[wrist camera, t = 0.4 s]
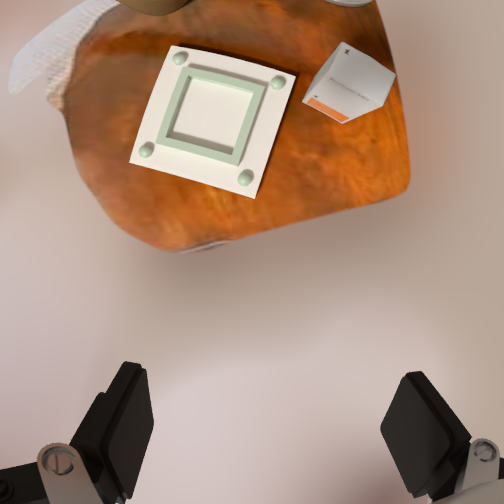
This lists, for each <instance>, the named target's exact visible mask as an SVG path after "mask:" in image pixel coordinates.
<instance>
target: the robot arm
mask: <svg viewBox="0 0 504 504" xmlns="http://www.w3.org/2000/svg"><path fill="white" fill-rule="evenodd" d="M326 1H328V2H330V3H334V4H337V5H341V6H347V7H358V6H364V5H367V4H369V3H370V2H372V1H373V0H326ZM153 426H154V419H153V413H152V407H151V401H150V394H149V387H148V379H147V372H146V369H143V368H142V367H141V364H138V363H133V362H127V361H125V362H124V363H123V364H122V366H121V367H120V369H119V371H118V372H117V374H116V376H115V378H114V379H113V381H112V383H111V385H110V386H109V388H108V390H107V391H106V393H104V392H100V393H99V394H98V395H97V396H96V398H95V400H94V402H93V403H92V405H91V407H90V408H89V410H88V412H87V414H86V415H85V417H84V419H83V421H82V422H81V424H80V426H79V427H78V429H77V431H76V433H75V435H74V436H73V438H72V440H71V442H70V444H69V445H67V444H63V443H52V444H49V445H46V446H45V447H43V448H42V449H41V450H40V452H39V453H38V456H37V462H34V463H29V464H25V465H21V466H16V467H11V468H7V469H1V470H0V504H115V503H119V504H125V501H126V498H127V499H131V498H132V495H133V492H134V488H135V485H136V482H137V478H138V475H139V472H140V469H141V465H142V462H143V459H144V456H145V452H146V449H147V446H148V443H149V440H150V436H151V433H152V430H153ZM380 430H381V433H382V436H383V438H384V440H385V442H386V444H387V446H388V448H389V451H390V453H391V455H392V457H393V459H394V461H395V464H396V466H397V468H398V470H399V472H400V475H401V477H402V479H403V481H404V484H405V486H406V488H407V490H408V492H410V493H412V495H413V497H414V498H417V497H420V496H423V495H426V494H427V493H428V495H429V498H428V502H427V504H504V458H501V457H500V453H499V449H498V447H497V446H496V444H495V443H493V442H492V441H490V440H487V439H483V438H481V439H477V440H475V441H474V442H473V443H472V444H471V443H470V442H469V441H470V439H471V438H472V436H471V435H470V434H469V432H468V431H467V429H466V428H465V427H464V425H463V424H462V423H461V421H460V420H459V419H458V417H457V416H456V415H455V414H454V412H453V411H452V409H451V408H450V407H449V405H448V404H447V403H446V401H445V400H444V399H443V398H442V397H441V395H440V394H439V392H438V391H437V390H436V389H435V387H434V386H433V385H432V383H431V382H430V381H429V380H428V378H427V377H426V376H425V375H424V373H423V372H422V371H417V372H409V373H407V374H406V375H405V376H404V377H403V378H402V379H401V381H400V384H399V386H398V389H397V391H396V393H395V396H394V398H393V400H392V402H391V405H390V407H389V409H388V411H387V413H386V416H385V417H384V419H383V421H382V423H381V428H380Z"/></svg>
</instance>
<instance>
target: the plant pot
mask: <svg viewBox="0 0 504 504" xmlns="http://www.w3.org/2000/svg"><path fill="white" fill-rule="evenodd" d="M116 1H118V2H120V3H122V4H124V5H126V6H128V7H130V8H132V9H135V10H137V11H140V12H142V13H145V14H148V15H152V16H162V15H167V14H170V13H172V12H175V11H176V10H178V9H180V8H181V7H182V6H183V5H184V4H185V3H186V2H187V1H188V0H116Z"/></svg>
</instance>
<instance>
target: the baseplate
mask: <svg viewBox="0 0 504 504" xmlns="http://www.w3.org/2000/svg"><path fill="white" fill-rule="evenodd" d="M295 77H296V76H293V75H290V74H287V73H284V72H281V71H278V70H275V69H271V68H268V67H265V66H261V65H258V64H254V63H251V62H247V61H243V60H240V59H236V58H232V57H227V56H223V55H219V54H214V53H210V52H205V51H200V50H194V49H189V48H183V47H177V46H171V48H170V50H169V53H168V55H167V57H166V60H165V62H164V64H163V67H162V69H161V71H160V74H159V76H158V79H157V81H156V84H155V87H154V89H153V92H152V94H151V97H150V100H149V103H148V105H147V108H146V111H145V114H144V117H143V120H142V123H141V126H140V129H139V132H138V135H137V138H136V141H135V145H134V148H133V151H132V155H131V158H130V162H129V163H133V164H137V165H141V166H144V167H148V168H152V169H156V170H159V171H163V172H167V173H170V174H174V175H177V176H181V177H184V178H188V179H191V180H195V181H198V182H201V183H205V184H208V185H212V186H215V187H218V188H221V189H225V190H228V191H231V192H234V193H238V194H241V195H244V196H247V197H250V198H253V199H255V196H256V193H257V190H258V187H259V184H260V181H261V178H262V175H263V172H264V169H265V166H266V163H267V160H268V157H269V154H270V151H271V148H272V145H273V142H274V139H275V136H276V133H277V130H278V127H279V124H280V121H281V118H282V115H283V112H284V109H285V106H286V103H287V100H288V98H289V95H290V92H291V89H292V86H293V83H294V80H295Z"/></svg>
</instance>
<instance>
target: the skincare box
mask: <svg viewBox="0 0 504 504" xmlns="http://www.w3.org/2000/svg"><path fill="white" fill-rule="evenodd" d="M395 77H396V75H395V74H394V73H393V72H392V71H390V70H389V69H387V68H386V67H384V66H383V65H381V64H380V63H378V62H377V61H376V60H374V59H373V58H371V57H370V56H368V55H366V54H364V53H362V52H360V51H359V50H357V49H355V48H353V47H351V46H350V45H348V44H346V43H344V42H341V43H340V45H339V46H338V47H337V49H336V50H335V51H334V52H333V54H332V55H331V56H330V57H329V59H328V60H327V61H326V62H325V64H324V65H323V66H322V68H321V69H320V70H319V72H318V73H317V74H316V75H315V77H314V79H313V81H312V83H311V84H310V86H309V88H308V90H307V92H306V94H305V96H304V99H303V100H302V102H303V103H305V104H307V105H309V106H311V107H313V108H315V109H317V110H319V111H321V112H323V113H325V114H326V115H328V116H330V117H331V118H333V119H335V120H337V121H338V122H340V123H342V124H343V123H345V122H348V121H350V120H352V119H354V118H356V117H358V116H361V115H363V114H365V113H368V112H370V111H372V110H374V109H377V108H379V107H381V106H383V104H384V102H385V100H386V97H387V95H388V93H389V91H390V88H391V86H392V84H393V81H394V79H395Z"/></svg>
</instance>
